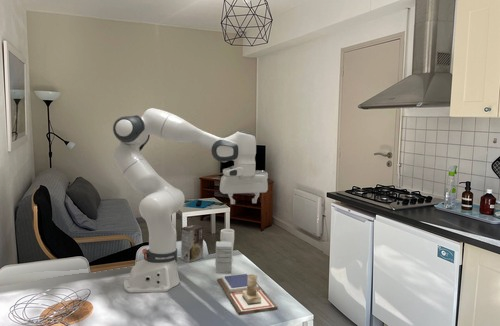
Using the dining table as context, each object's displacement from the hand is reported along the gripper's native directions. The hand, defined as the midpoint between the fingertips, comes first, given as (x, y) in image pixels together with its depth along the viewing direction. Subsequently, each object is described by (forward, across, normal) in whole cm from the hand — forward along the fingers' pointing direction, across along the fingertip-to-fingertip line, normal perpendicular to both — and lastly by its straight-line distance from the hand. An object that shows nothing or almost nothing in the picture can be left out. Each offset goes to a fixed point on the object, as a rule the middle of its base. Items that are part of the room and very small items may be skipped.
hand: (243, 203), depth 160 cm
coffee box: (+34, +15, -32) cm, 49 cm away
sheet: (+34, +2, +19) cm, 39 cm away
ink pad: (+34, +2, +4) cm, 34 cm away
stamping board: (+34, +2, +11) cm, 36 cm away
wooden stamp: (+33, +2, +19) cm, 38 cm away
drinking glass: (+34, -1, -26) cm, 43 cm away
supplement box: (+34, +4, -14) cm, 37 cm away
